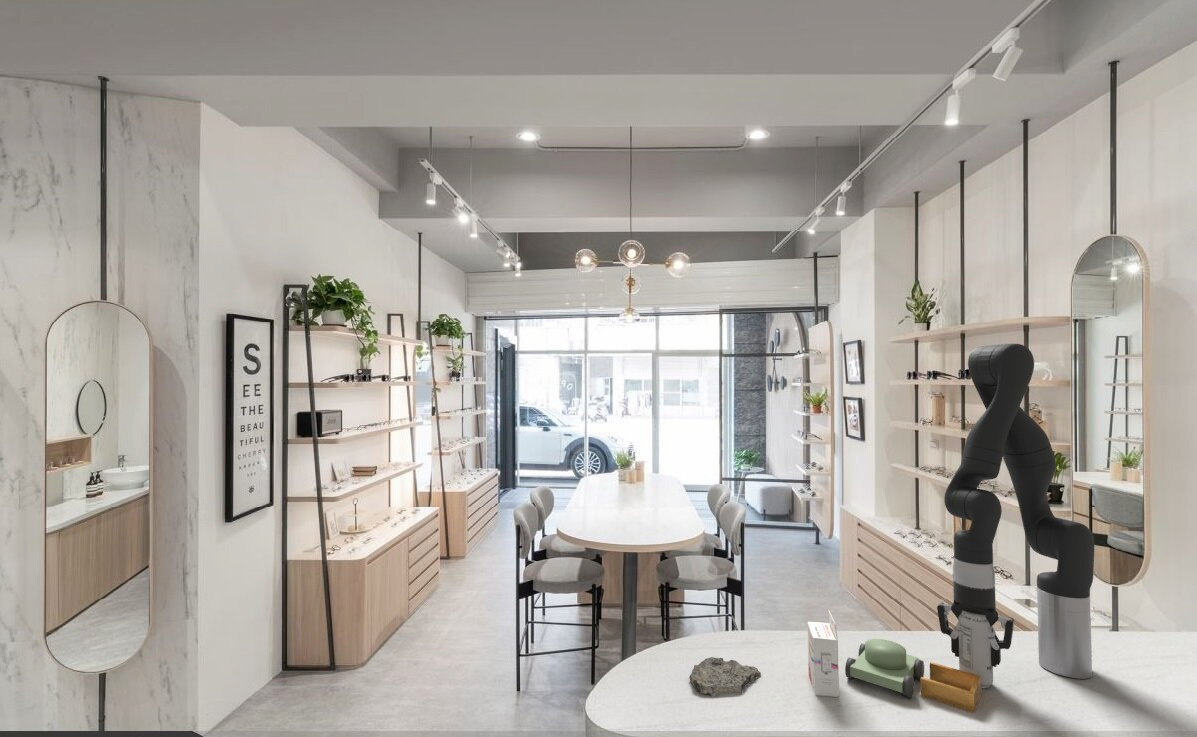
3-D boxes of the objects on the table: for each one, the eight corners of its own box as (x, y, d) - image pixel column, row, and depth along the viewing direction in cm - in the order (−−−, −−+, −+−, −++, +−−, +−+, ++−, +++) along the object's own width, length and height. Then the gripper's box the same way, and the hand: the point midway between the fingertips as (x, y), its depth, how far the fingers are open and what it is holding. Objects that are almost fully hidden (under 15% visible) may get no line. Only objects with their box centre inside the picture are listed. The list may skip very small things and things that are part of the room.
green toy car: (864, 657, 132) (864, 629, 132) (924, 675, 123) (924, 645, 124) (844, 681, 121) (844, 650, 121) (908, 702, 113) (908, 669, 113)
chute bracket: (930, 678, 122) (930, 661, 122) (981, 693, 116) (981, 676, 116) (920, 695, 115) (920, 678, 116) (974, 712, 109) (973, 694, 109)
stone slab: (673, 686, 120) (673, 671, 120) (715, 657, 133) (715, 644, 133) (725, 709, 112) (725, 694, 112) (764, 676, 124) (764, 662, 124)
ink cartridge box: (807, 674, 124) (806, 606, 124) (831, 677, 123) (830, 608, 123) (813, 695, 116) (813, 622, 116) (839, 698, 115) (838, 624, 115)
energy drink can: (997, 691, 117) (995, 618, 117) (963, 686, 119) (961, 614, 119) (988, 677, 122) (986, 607, 123) (956, 672, 124) (954, 604, 125)
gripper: (1017, 584, 119) (1019, 664, 119) (938, 569, 129) (940, 644, 128) (1013, 593, 114) (1015, 678, 113) (931, 578, 123) (933, 656, 123)
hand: (975, 660), depth 121 cm, fingers closed on energy drink can, 6 cm apart
